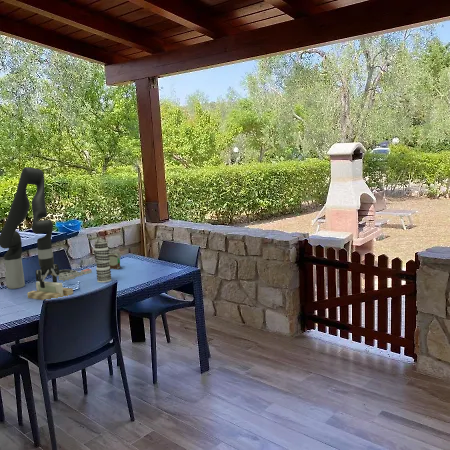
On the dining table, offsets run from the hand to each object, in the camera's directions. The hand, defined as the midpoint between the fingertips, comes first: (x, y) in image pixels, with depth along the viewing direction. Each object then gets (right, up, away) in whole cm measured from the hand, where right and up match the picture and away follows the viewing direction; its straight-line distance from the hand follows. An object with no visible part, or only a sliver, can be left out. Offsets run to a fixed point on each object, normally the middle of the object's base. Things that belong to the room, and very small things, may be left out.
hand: (49, 285), depth 247 cm
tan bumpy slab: (+1, -6, +1) cm, 6 cm away
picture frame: (0, -5, +1) cm, 5 cm away
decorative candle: (+23, -1, +27) cm, 35 cm away
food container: (+23, +4, +56) cm, 61 cm away
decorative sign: (-3, 0, +44) cm, 44 cm away
